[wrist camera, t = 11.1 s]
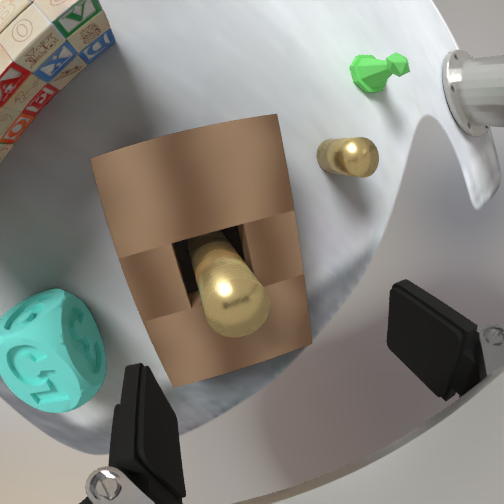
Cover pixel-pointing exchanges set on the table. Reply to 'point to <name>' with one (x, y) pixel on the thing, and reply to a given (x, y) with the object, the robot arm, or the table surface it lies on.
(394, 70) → the game piece
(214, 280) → the tall pin
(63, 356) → the decorative dice
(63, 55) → the stack of blocks
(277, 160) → the bridge board
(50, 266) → the table surface
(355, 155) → the short pin
